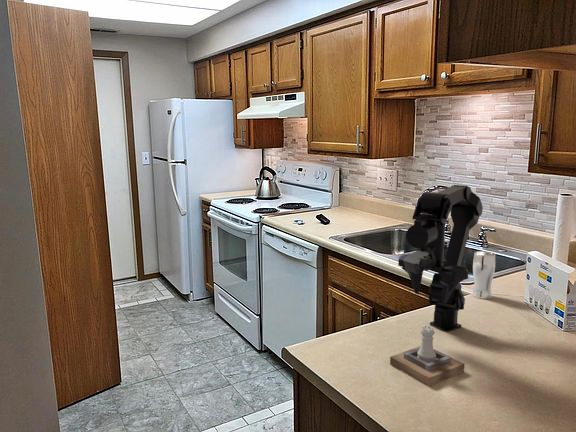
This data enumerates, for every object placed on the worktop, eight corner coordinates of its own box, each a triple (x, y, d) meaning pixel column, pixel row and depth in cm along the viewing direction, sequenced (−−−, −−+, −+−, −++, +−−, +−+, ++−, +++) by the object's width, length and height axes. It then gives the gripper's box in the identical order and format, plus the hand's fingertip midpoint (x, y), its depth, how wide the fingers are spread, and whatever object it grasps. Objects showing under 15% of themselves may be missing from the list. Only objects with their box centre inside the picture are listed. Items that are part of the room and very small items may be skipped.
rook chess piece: (421, 353, 115) (423, 322, 114) (439, 359, 112) (440, 327, 111) (413, 360, 112) (414, 328, 111) (431, 366, 109) (432, 333, 108)
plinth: (424, 351, 121) (424, 340, 120) (463, 371, 111) (464, 358, 110) (390, 364, 114) (390, 352, 114) (428, 386, 104) (429, 372, 104)
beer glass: (483, 291, 166) (485, 250, 163) (497, 298, 159) (500, 255, 157) (466, 293, 164) (469, 251, 161) (480, 300, 157) (483, 256, 155)
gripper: (384, 238, 126) (382, 294, 128) (440, 252, 110) (437, 315, 113) (413, 233, 132) (411, 286, 134) (471, 246, 116) (467, 306, 119)
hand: (430, 298), depth 125 cm, fingers open, 9 cm apart
